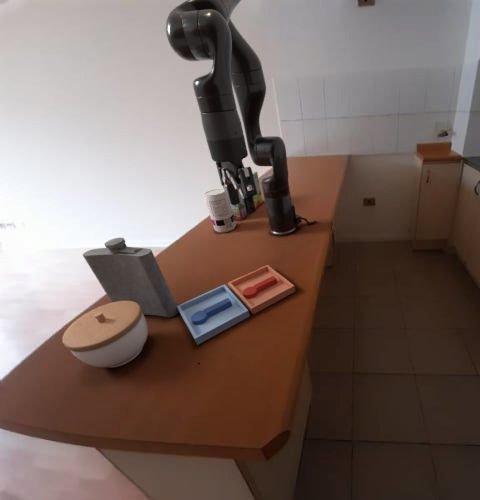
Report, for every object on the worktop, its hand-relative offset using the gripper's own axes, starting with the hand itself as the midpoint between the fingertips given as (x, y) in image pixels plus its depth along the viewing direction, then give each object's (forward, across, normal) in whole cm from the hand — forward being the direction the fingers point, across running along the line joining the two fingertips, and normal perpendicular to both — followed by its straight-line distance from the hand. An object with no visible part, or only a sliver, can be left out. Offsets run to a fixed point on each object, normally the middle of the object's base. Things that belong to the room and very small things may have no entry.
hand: (243, 208), depth 66 cm
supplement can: (+22, +43, -7) cm, 49 cm away
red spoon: (+22, -3, +2) cm, 22 cm away
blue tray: (+22, -3, +14) cm, 27 cm away
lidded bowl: (+22, -1, +33) cm, 40 cm away
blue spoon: (+22, -3, +15) cm, 26 cm away
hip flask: (+22, +10, +26) cm, 36 cm away
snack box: (+22, +54, -22) cm, 62 cm away
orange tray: (+22, -3, +2) cm, 22 cm away
